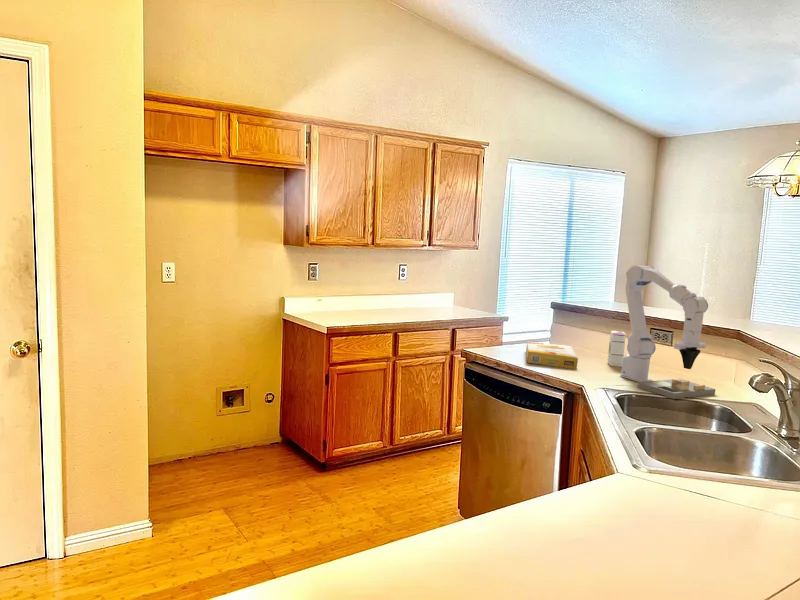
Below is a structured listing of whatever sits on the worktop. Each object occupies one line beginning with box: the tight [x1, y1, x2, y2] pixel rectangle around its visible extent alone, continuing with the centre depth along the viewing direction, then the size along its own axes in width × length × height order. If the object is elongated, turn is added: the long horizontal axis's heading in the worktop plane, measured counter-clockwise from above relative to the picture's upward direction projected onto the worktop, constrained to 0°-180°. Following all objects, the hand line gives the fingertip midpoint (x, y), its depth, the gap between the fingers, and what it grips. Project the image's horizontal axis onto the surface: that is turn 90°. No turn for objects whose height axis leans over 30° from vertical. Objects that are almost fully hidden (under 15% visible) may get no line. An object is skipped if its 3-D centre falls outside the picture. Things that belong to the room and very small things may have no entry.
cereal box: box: [525, 341, 579, 370], centre depth 255 cm, size 20×6×28 cm
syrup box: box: [607, 330, 627, 368], centre depth 252 cm, size 6×6×14 cm
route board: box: [637, 378, 716, 400], centre depth 213 cm, size 15×22×4 cm
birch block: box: [671, 378, 691, 390], centre depth 209 cm, size 4×4×3 cm
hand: (687, 368), depth 210 cm, fingers closed
